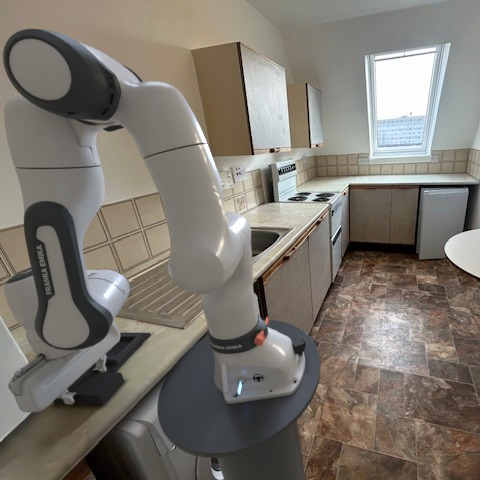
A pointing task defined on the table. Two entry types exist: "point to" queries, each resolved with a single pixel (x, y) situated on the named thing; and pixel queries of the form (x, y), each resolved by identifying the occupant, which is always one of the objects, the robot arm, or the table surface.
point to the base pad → (122, 350)
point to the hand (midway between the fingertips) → (88, 386)
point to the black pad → (94, 387)
